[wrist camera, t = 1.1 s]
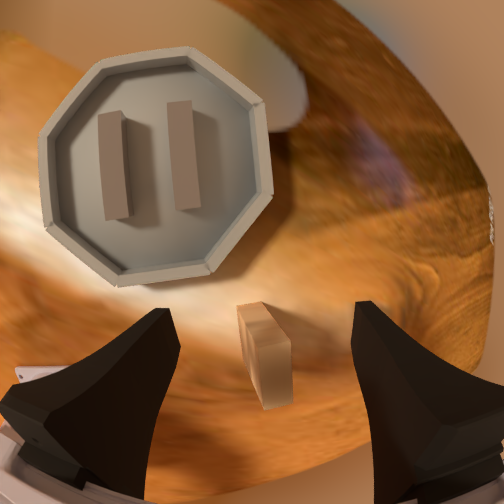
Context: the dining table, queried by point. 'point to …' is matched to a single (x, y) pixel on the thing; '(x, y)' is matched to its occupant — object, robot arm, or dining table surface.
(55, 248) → the dining table surface
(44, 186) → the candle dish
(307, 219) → the dining table surface
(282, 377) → the pine wood chunk
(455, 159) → the dining table surface
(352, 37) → the dining table surface
